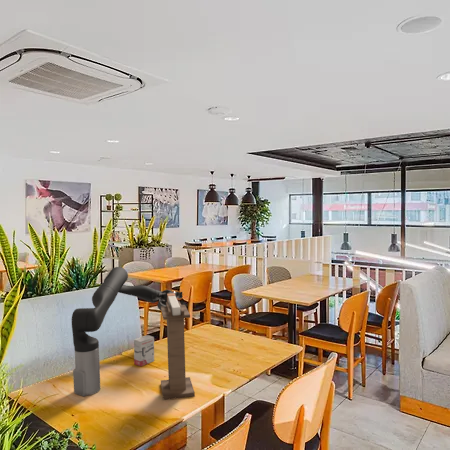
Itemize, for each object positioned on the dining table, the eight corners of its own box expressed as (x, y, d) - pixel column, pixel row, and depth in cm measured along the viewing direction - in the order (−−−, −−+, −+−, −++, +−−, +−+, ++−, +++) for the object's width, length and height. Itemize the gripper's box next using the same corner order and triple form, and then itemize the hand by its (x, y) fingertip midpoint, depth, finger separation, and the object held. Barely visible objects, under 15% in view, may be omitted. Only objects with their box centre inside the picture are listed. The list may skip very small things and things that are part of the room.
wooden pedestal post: (160, 383, 163) (158, 303, 161) (189, 379, 165) (187, 300, 164) (163, 401, 147) (160, 313, 145) (195, 397, 150) (192, 310, 148)
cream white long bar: (167, 301, 171) (167, 293, 171) (174, 300, 172) (174, 293, 171) (172, 315, 148) (172, 307, 147) (180, 314, 148) (180, 306, 148)
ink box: (141, 367, 180) (140, 341, 179) (133, 364, 183) (133, 339, 182) (155, 360, 186) (154, 336, 186) (148, 358, 190) (147, 334, 189)
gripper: (152, 291, 198) (152, 287, 182) (180, 289, 200) (182, 285, 185) (152, 307, 196) (152, 304, 180) (181, 304, 198) (183, 301, 183)
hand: (168, 294), depth 183 cm, fingers open, 8 cm apart
